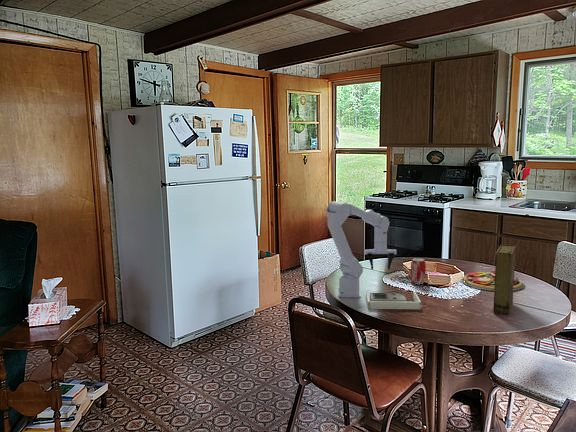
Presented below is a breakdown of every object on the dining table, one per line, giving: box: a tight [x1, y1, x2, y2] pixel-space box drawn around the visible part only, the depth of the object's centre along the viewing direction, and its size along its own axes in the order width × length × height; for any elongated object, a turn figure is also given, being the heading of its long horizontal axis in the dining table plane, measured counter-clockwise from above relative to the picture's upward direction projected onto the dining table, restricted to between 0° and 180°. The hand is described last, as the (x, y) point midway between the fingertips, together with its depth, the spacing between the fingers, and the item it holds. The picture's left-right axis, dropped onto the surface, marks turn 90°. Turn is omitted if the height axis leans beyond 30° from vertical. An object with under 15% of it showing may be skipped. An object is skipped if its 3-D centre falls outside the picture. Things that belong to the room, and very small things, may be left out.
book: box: [492, 243, 517, 316], centre depth 178 cm, size 16×6×25 cm, turn 148°
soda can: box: [410, 257, 427, 286], centre depth 214 cm, size 7×7×12 cm
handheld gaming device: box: [369, 292, 408, 302], centre depth 189 cm, size 9×15×4 cm, turn 83°
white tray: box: [365, 291, 422, 310], centre depth 189 cm, size 22×13×3 cm, turn 84°
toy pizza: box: [460, 270, 525, 292], centre depth 212 cm, size 28×28×4 cm
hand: (380, 269), depth 208 cm, fingers open, 7 cm apart
